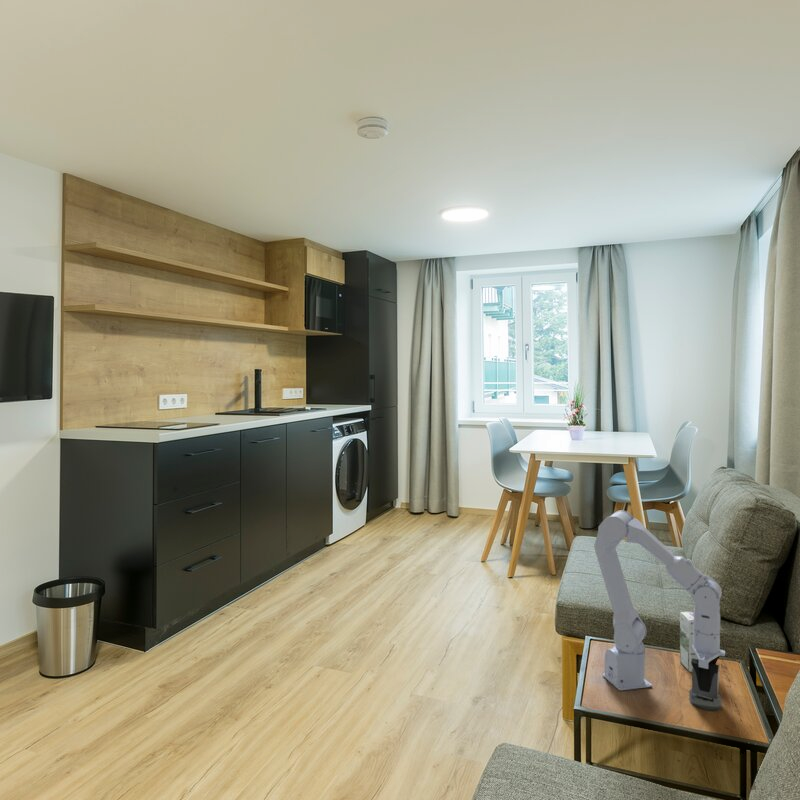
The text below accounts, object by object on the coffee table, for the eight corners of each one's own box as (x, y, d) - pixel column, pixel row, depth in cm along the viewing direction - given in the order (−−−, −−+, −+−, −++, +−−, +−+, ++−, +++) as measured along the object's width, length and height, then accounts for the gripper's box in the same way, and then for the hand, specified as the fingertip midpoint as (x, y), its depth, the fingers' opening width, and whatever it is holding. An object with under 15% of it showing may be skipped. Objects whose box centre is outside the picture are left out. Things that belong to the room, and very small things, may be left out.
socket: (692, 692, 140) (692, 668, 140) (694, 683, 145) (694, 659, 144) (717, 699, 137) (717, 674, 137) (718, 689, 142) (719, 665, 142)
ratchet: (720, 714, 136) (720, 693, 136) (687, 705, 140) (688, 685, 140) (724, 687, 148) (724, 668, 148) (694, 679, 152) (694, 661, 152)
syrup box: (710, 672, 156) (711, 619, 155) (688, 672, 156) (689, 619, 155) (699, 662, 161) (700, 611, 161) (678, 662, 162) (679, 611, 161)
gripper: (723, 645, 132) (722, 703, 132) (727, 623, 144) (726, 676, 145) (689, 638, 136) (688, 694, 136) (695, 617, 148) (694, 669, 149)
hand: (705, 685), depth 141 cm, fingers closed on socket, 5 cm apart
